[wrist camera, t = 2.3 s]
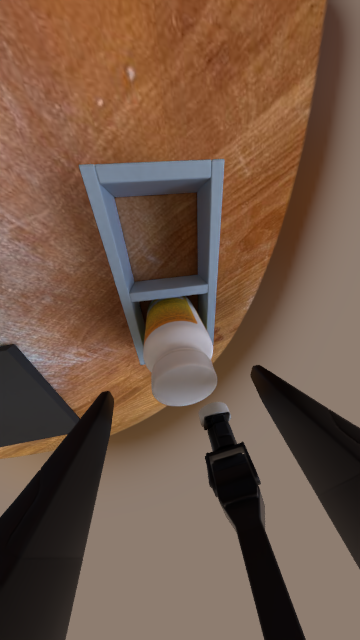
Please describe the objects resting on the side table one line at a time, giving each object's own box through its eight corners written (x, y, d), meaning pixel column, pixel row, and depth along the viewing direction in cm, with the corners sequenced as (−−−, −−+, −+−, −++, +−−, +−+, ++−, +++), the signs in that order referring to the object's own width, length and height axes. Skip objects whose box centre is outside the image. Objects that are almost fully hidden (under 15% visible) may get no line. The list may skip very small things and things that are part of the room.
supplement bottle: (137, 315, 16) (118, 398, 8) (169, 280, 15) (185, 337, 7) (172, 338, 19) (185, 420, 10) (202, 310, 17) (245, 379, 9)
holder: (204, 335, 19) (212, 353, 16) (143, 344, 19) (140, 365, 16) (206, 178, 11) (225, 158, 8) (99, 184, 11) (77, 164, 8)
